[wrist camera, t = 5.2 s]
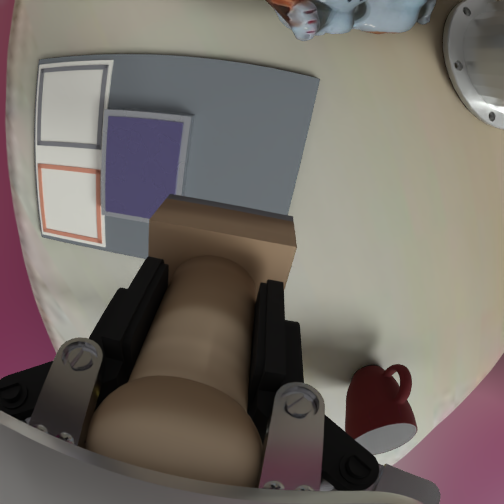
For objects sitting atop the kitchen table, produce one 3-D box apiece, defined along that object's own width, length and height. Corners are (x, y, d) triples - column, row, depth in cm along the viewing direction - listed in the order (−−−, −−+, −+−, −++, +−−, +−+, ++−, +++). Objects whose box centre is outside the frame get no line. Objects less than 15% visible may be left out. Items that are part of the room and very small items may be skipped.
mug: (358, 336, 33) (377, 411, 25) (416, 341, 34) (443, 406, 25) (328, 391, 39) (336, 457, 30) (381, 393, 39) (396, 453, 30)
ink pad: (112, 107, 22) (103, 109, 20) (195, 114, 22) (190, 117, 21) (108, 208, 26) (100, 215, 25) (182, 221, 27) (177, 229, 25)
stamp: (170, 193, 12) (2, 458, 3) (292, 216, 13) (318, 536, 3) (164, 291, 15) (80, 517, 5) (267, 310, 15) (254, 555, 6)
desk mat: (42, 59, 20) (39, 59, 19) (318, 79, 21) (319, 78, 20) (44, 234, 29) (41, 237, 28) (270, 278, 30) (270, 282, 29)
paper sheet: (40, 64, 19) (38, 64, 19) (113, 60, 20) (112, 59, 20) (43, 233, 28) (41, 234, 28) (105, 246, 28) (104, 247, 28)
